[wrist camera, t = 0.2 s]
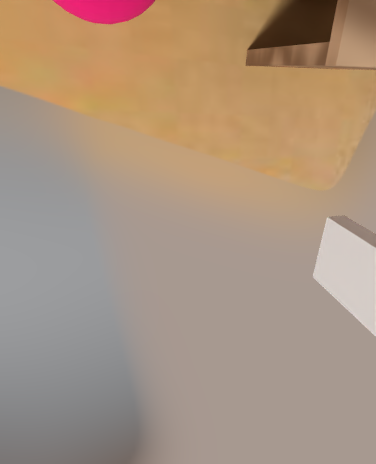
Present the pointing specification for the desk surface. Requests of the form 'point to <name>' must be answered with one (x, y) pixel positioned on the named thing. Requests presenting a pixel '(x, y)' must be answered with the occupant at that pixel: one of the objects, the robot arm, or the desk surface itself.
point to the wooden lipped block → (331, 43)
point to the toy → (105, 9)
